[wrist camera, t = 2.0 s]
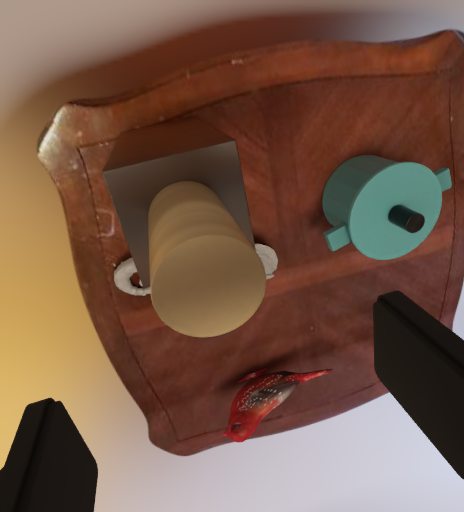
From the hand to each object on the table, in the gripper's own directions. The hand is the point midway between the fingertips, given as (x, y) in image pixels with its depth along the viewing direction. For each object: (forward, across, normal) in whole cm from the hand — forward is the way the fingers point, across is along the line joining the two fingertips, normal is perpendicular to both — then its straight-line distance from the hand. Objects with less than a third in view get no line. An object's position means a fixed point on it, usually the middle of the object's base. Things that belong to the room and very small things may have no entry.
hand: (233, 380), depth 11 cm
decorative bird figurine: (+34, -6, +34) cm, 48 cm away
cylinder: (+14, 0, 0) cm, 14 cm away
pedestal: (+34, 0, 0) cm, 34 cm away
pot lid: (+26, -23, +10) cm, 36 cm away
